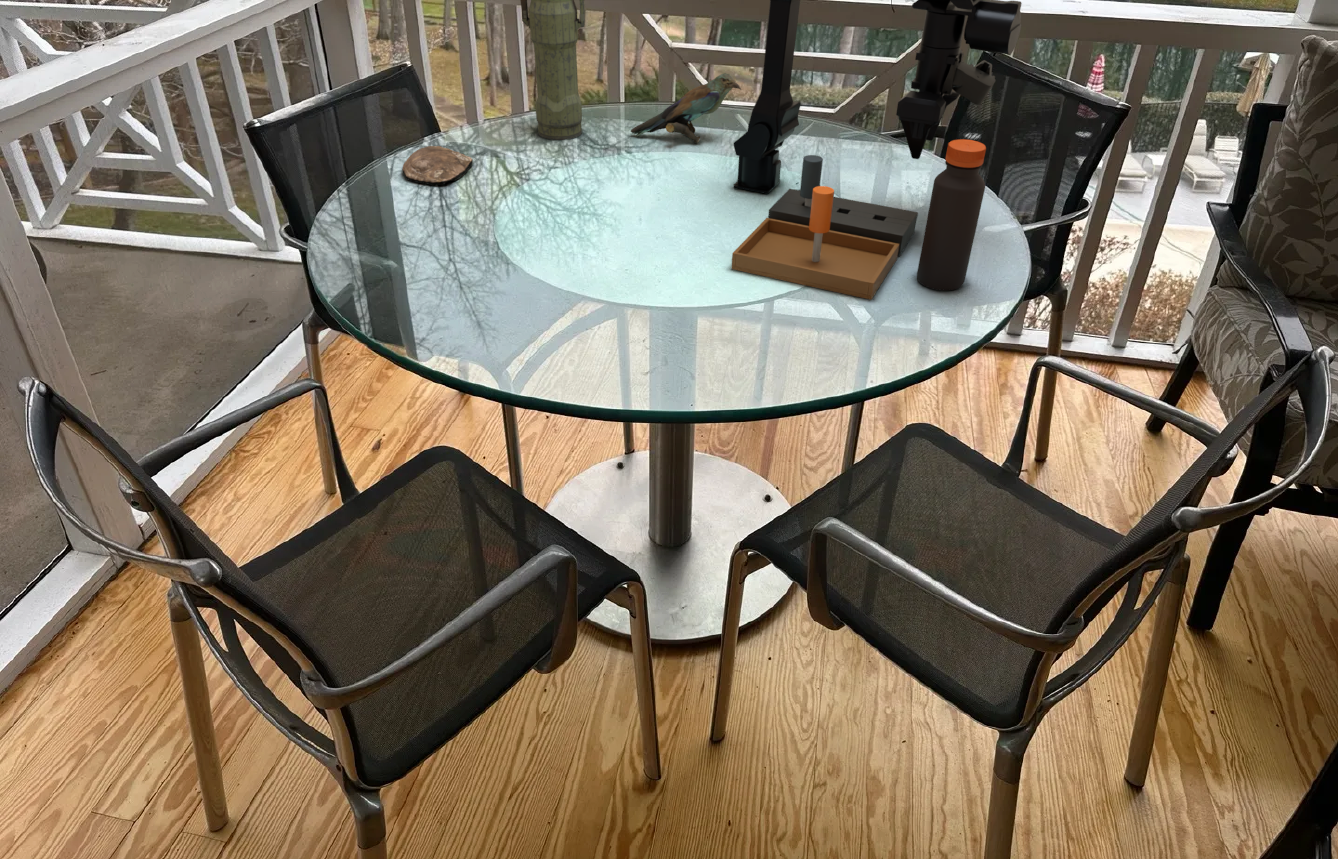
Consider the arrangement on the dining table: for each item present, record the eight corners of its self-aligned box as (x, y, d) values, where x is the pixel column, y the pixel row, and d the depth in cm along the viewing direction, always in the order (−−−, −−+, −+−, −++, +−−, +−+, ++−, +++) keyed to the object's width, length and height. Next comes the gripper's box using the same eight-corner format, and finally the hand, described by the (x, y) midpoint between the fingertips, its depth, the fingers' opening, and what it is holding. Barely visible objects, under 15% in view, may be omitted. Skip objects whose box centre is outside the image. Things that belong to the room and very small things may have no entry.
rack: (899, 257, 142) (902, 235, 140) (767, 230, 150) (768, 209, 148) (914, 232, 150) (918, 211, 147) (787, 208, 157) (789, 188, 155)
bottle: (973, 288, 134) (1003, 151, 122) (930, 294, 133) (957, 156, 121) (948, 267, 140) (976, 134, 128) (907, 273, 138) (931, 138, 126)
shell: (388, 180, 165) (385, 160, 163) (423, 155, 175) (420, 136, 173) (448, 187, 162) (445, 167, 160) (479, 162, 172) (477, 143, 170)
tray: (731, 269, 139) (732, 252, 137) (765, 232, 149) (766, 217, 147) (871, 299, 131) (873, 283, 130) (896, 259, 142) (899, 243, 140)
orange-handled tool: (802, 262, 139) (810, 191, 133) (809, 254, 141) (816, 184, 135) (822, 266, 138) (830, 195, 132) (828, 258, 140) (836, 188, 134)
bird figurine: (624, 141, 180) (679, 50, 169) (633, 125, 188) (686, 38, 177) (682, 180, 182) (741, 93, 172) (688, 163, 190) (744, 79, 180)
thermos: (532, 124, 190) (517, -70, 169) (590, 125, 190) (583, -69, 169) (527, 139, 182) (511, -61, 162) (588, 140, 183) (580, -61, 162)
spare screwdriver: (794, 226, 151) (800, 159, 144) (800, 219, 153) (807, 153, 147) (812, 229, 150) (819, 162, 143) (818, 222, 152) (825, 156, 146)
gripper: (985, 67, 127) (962, 177, 136) (1008, 36, 141) (986, 138, 150) (904, 56, 131) (887, 165, 140) (934, 27, 145) (917, 128, 154)
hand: (922, 148), depth 146 cm, fingers open, 9 cm apart
